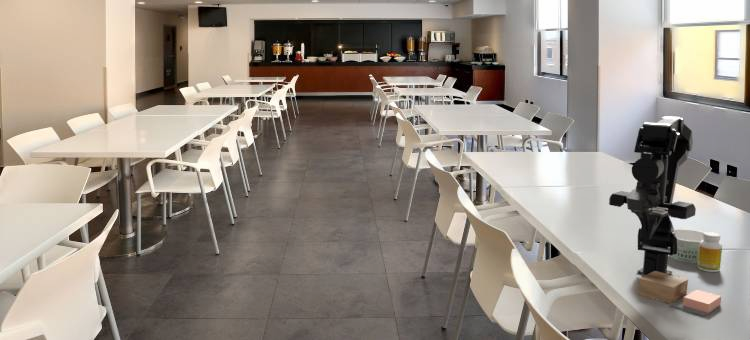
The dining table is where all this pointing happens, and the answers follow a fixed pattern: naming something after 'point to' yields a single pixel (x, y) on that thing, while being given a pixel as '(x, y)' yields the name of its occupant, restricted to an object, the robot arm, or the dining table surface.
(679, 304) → the mat
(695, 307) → the pink block
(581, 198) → the dining table surface
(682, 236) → the food container
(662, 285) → the brown square block
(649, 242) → the robot arm
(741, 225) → the dining table surface
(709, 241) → the supplement bottle
